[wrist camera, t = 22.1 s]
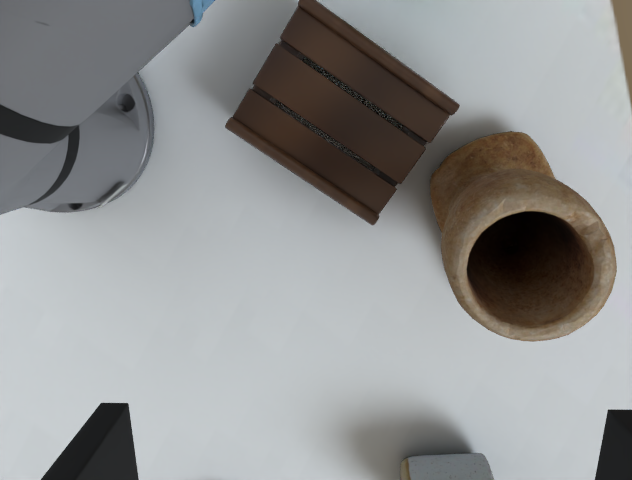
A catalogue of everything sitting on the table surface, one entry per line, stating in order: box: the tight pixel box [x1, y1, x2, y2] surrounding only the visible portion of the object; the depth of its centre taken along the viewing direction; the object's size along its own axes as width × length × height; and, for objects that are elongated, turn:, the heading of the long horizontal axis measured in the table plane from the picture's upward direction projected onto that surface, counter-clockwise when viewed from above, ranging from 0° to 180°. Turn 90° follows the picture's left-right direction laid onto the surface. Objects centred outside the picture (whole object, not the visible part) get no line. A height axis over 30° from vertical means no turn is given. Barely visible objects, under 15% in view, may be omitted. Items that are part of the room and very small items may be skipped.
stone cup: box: [430, 131, 617, 341], centre depth 33 cm, size 15×12×15 cm
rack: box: [225, 0, 460, 225], centre depth 35 cm, size 13×10×6 cm
